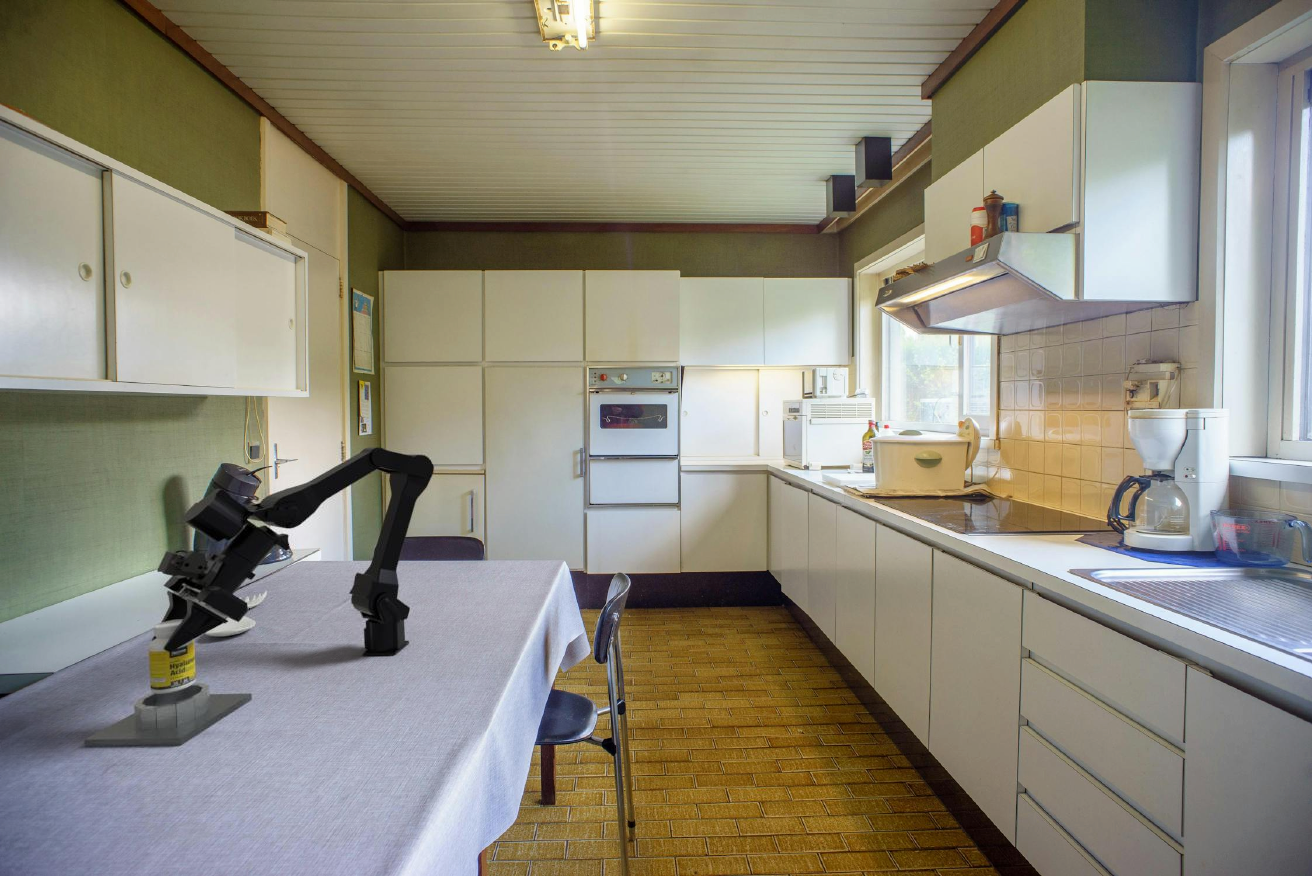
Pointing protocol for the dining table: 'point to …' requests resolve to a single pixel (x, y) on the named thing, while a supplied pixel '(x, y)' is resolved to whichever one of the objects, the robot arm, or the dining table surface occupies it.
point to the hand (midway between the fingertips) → (160, 646)
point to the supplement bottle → (170, 661)
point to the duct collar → (169, 718)
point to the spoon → (234, 626)
